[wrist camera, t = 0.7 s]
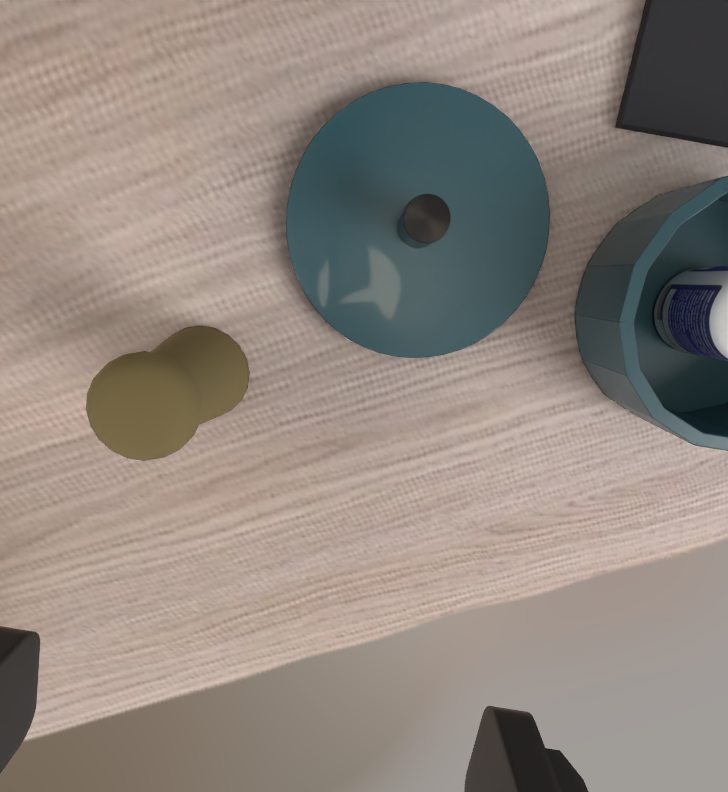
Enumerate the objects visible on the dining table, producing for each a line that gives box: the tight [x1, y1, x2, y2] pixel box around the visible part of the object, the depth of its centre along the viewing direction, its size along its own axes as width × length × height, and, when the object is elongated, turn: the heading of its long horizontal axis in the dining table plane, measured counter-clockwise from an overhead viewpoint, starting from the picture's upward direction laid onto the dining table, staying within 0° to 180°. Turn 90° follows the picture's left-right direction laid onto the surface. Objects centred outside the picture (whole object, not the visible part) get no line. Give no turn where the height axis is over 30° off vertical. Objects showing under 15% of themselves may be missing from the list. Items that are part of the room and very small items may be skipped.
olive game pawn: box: [86, 326, 249, 461], centre depth 30 cm, size 6×6×11 cm
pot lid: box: [286, 82, 550, 358], centre depth 30 cm, size 16×16×6 cm
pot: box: [575, 176, 728, 451], centre depth 31 cm, size 15×15×6 cm
